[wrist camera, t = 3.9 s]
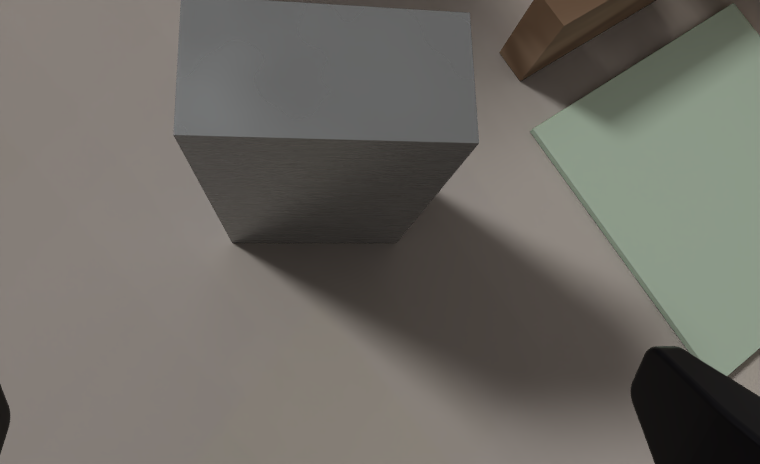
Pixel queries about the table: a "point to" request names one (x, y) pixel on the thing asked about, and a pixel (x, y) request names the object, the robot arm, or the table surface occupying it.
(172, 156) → the table surface
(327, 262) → the table surface
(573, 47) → the brown wooden corner wall
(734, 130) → the mat
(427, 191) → the gray block
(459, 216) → the table surface
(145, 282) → the table surface
